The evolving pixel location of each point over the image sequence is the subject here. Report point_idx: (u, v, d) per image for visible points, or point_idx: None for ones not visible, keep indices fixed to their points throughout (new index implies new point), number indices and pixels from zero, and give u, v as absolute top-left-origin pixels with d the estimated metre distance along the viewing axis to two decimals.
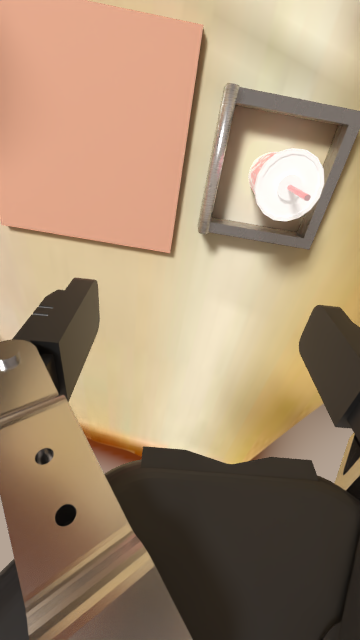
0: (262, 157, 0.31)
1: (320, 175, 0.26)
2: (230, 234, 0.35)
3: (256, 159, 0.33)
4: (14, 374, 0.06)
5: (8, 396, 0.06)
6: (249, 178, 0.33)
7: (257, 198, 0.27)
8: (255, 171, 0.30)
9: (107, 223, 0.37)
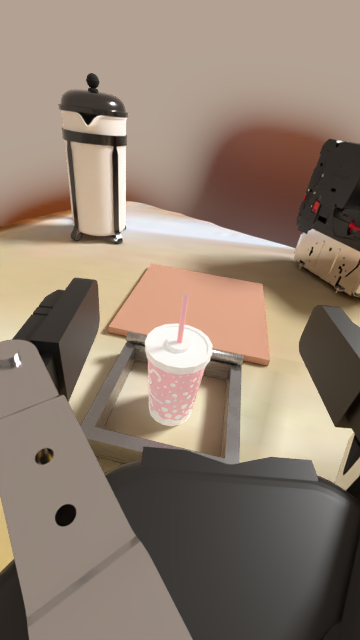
0: None
1: (189, 365, 0.24)
2: (119, 358, 0.33)
3: None
4: (15, 375, 0.06)
5: (8, 396, 0.06)
6: None
7: (170, 324, 0.28)
8: None
9: (144, 299, 0.46)
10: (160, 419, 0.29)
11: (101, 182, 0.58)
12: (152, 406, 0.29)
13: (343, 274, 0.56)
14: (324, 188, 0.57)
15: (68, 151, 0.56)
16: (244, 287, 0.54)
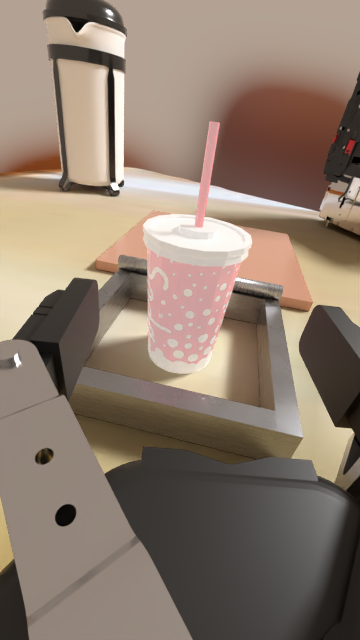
0: None
1: (218, 249, 0.14)
2: (106, 284, 0.23)
3: None
4: (15, 375, 0.06)
5: (8, 396, 0.06)
6: None
7: (182, 215, 0.18)
8: None
9: None
10: (165, 363, 0.19)
11: (94, 114, 0.49)
12: (153, 342, 0.19)
13: None
14: None
15: (54, 73, 0.47)
16: (266, 235, 0.44)
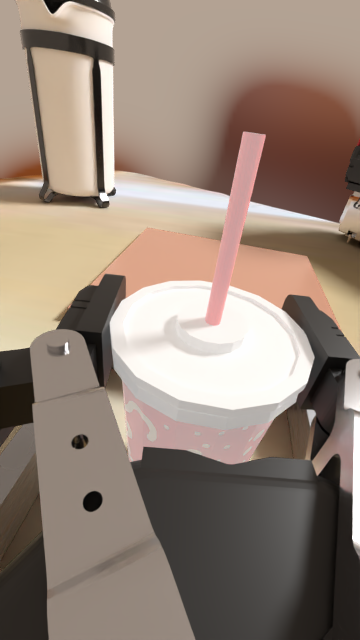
0: None
1: (257, 396, 0.07)
2: None
3: None
4: (63, 362, 0.06)
5: (66, 379, 0.06)
6: None
7: (182, 282, 0.11)
8: None
9: (133, 270, 0.29)
10: None
11: (77, 113, 0.41)
12: None
13: None
14: None
15: (29, 65, 0.39)
16: (283, 259, 0.37)
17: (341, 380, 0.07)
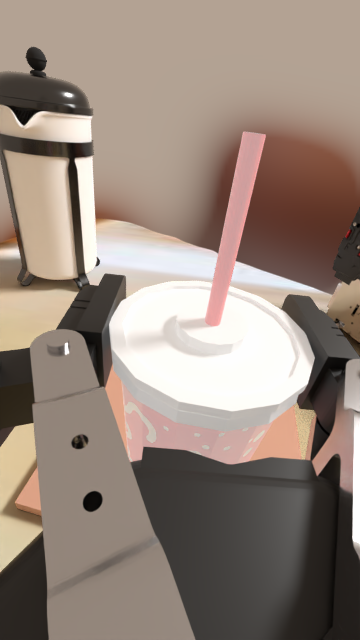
0: None
1: (257, 397, 0.07)
2: None
3: None
4: (63, 362, 0.06)
5: (66, 379, 0.06)
6: None
7: (181, 282, 0.11)
8: None
9: None
10: None
11: (53, 209, 0.40)
12: None
13: None
14: None
15: (2, 164, 0.38)
16: None
17: (341, 380, 0.07)
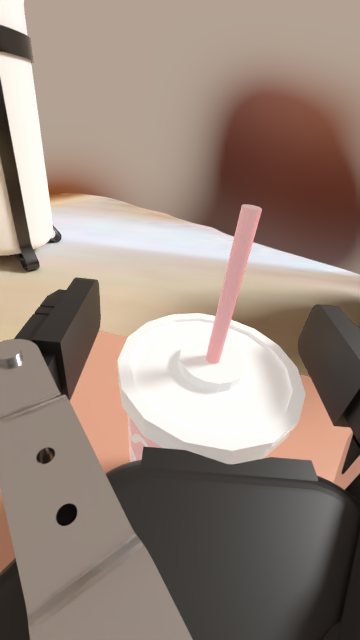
0: None
1: (253, 436, 0.08)
2: None
3: None
4: (16, 374, 0.06)
5: (11, 395, 0.06)
6: None
7: (183, 315, 0.12)
8: None
9: None
10: None
11: None
12: None
13: None
14: None
15: None
16: None
17: None
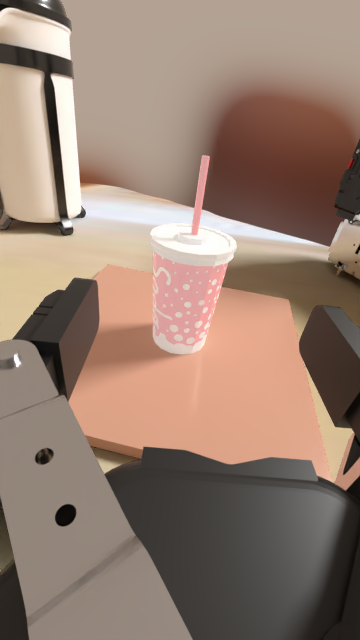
0: None
1: (209, 253, 0.18)
2: None
3: None
4: (15, 375, 0.06)
5: (8, 396, 0.06)
6: None
7: (180, 224, 0.23)
8: None
9: None
10: (168, 346, 0.23)
11: (29, 134, 0.36)
12: (158, 328, 0.23)
13: None
14: None
15: None
16: (260, 306, 0.32)
17: None
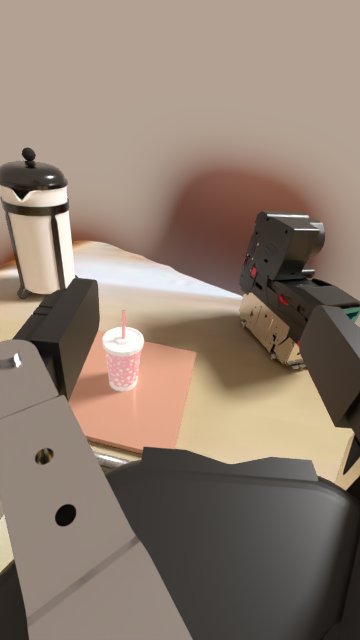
0: None
1: (126, 351, 0.41)
2: None
3: None
4: (15, 375, 0.06)
5: (8, 396, 0.06)
6: None
7: (120, 327, 0.45)
8: None
9: None
10: (115, 387, 0.46)
11: (41, 248, 0.59)
12: (109, 378, 0.46)
13: (276, 343, 0.57)
14: (259, 256, 0.58)
15: (7, 220, 0.57)
16: (176, 357, 0.54)
17: None
